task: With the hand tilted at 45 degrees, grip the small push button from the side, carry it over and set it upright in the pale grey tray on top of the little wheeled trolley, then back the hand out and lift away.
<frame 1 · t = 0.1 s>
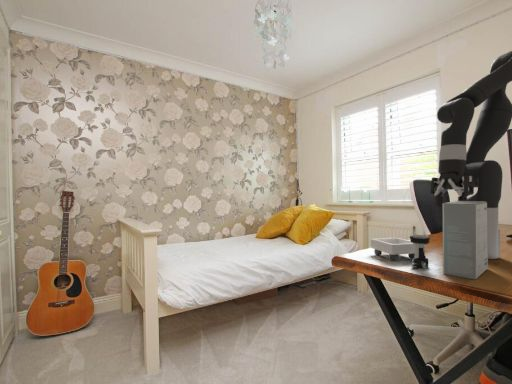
hand: (449, 207, 94), 17 cm above the table, tool pointing down, fingers open, 8 cm apart
push button: (418, 268, 83), on the table
parts trolley: (394, 257, 96), on the table
hard drive box: (465, 272, 80), on the table
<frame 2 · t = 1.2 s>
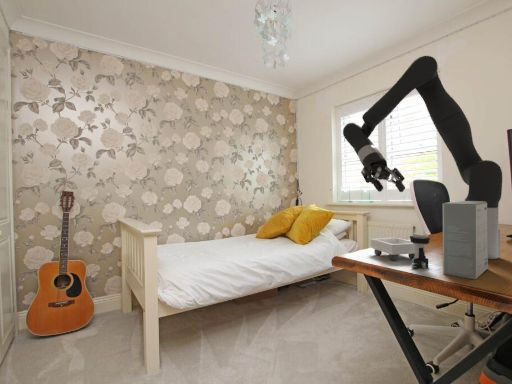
hand: (392, 190, 94), 23 cm above the table, tool tilted 45°, fingers open, 8 cm apart
nothing on the table moved.
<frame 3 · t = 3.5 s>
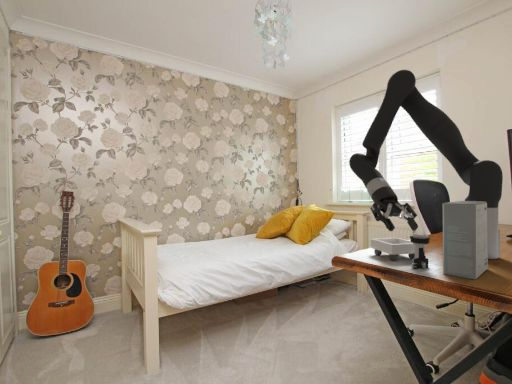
hand: (404, 229, 89), 11 cm above the table, tool tilted 45°, fingers open, 8 cm apart
nothing on the table moved.
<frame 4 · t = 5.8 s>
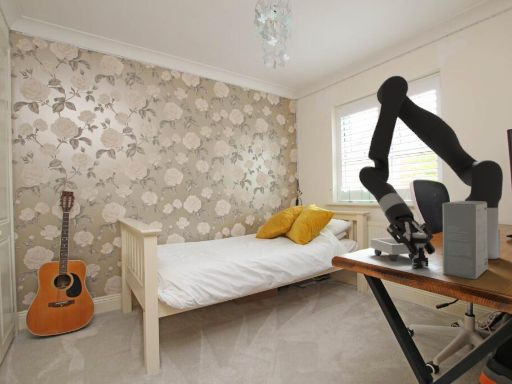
hand: (424, 253, 82), 5 cm above the table, tool tilted 45°, fingers closed on push button, 5 cm apart
push button: (418, 267, 83), on the table, touching gripper
everything else where it was.
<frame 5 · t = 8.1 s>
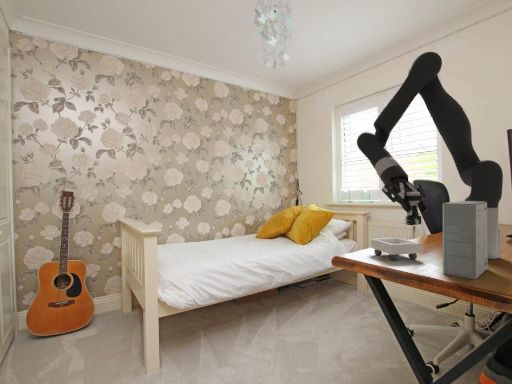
hand: (417, 210, 84), 17 cm above the table, tool tilted 45°, fingers closed on push button, 5 cm apart
push button: (411, 225, 86), point 12 cm above the table, touching gripper
everything else where it was.
when the fingers open (10 cm above the table, at t = 10.7 s): push button drops 1 cm, resting on parts trolley.
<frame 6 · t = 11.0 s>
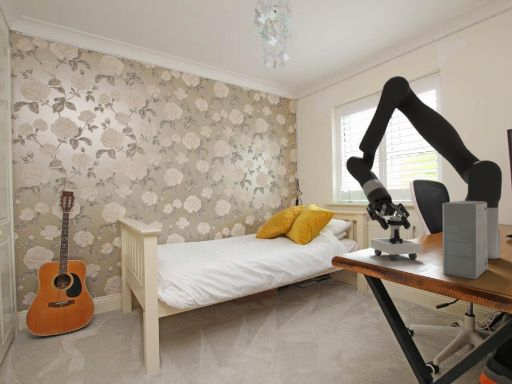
hand: (397, 228, 95), 10 cm above the table, tool tilted 45°, fingers open, 8 cm apart
push button: (393, 246, 97), point 3 cm above the table, touching parts trolley
everything else where it was.
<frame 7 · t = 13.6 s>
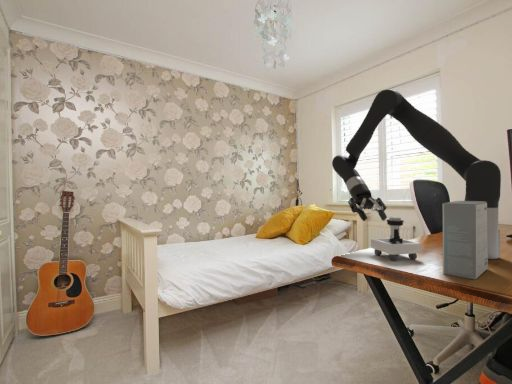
hand: (375, 219, 107), 12 cm above the table, tool tilted 45°, fingers open, 8 cm apart
nothing on the table moved.
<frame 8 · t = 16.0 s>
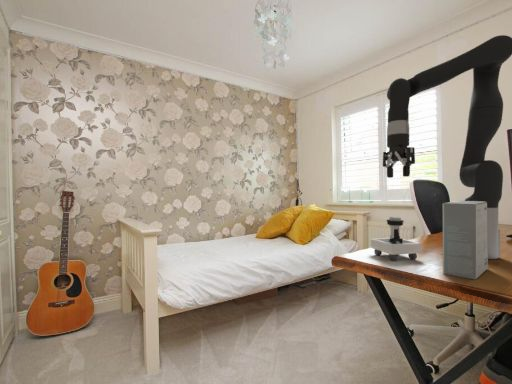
hand: (397, 177, 106), 28 cm above the table, tool pointing down, fingers open, 8 cm apart
nothing on the table moved.
at the end: push button 0.6 cm off-centre on the parts trolley, point 3.4 cm above the parts trolley's base; push button tilted 0°; the gripper is holding nothing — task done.
